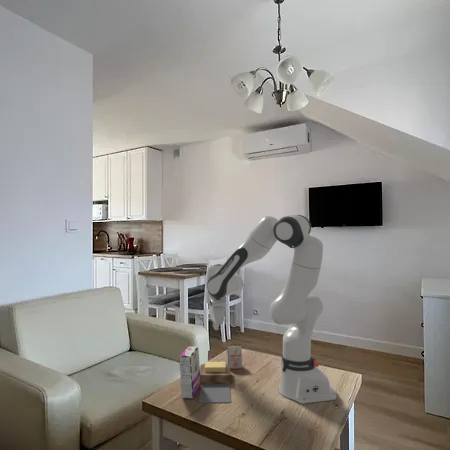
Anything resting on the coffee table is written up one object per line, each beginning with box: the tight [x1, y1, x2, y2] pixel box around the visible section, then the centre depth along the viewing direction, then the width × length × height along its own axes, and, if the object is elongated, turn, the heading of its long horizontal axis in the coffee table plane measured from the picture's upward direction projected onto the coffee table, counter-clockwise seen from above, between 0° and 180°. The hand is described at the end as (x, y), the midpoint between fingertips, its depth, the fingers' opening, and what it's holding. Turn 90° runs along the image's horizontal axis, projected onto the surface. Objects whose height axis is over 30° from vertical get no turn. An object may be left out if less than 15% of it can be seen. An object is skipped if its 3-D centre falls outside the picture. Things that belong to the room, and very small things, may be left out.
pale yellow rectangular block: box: [204, 361, 227, 372], centre depth 143 cm, size 9×6×2 cm, turn 92°
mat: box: [198, 384, 232, 404], centre depth 130 cm, size 12×14×1 cm
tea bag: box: [226, 345, 243, 370], centre depth 155 cm, size 4×7×10 cm, turn 99°
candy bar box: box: [178, 345, 201, 400], centre depth 131 cm, size 11×5×16 cm, turn 168°
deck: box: [200, 363, 232, 386], centre depth 143 cm, size 13×11×4 cm
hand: (215, 328), depth 152 cm, fingers open, 2 cm apart
